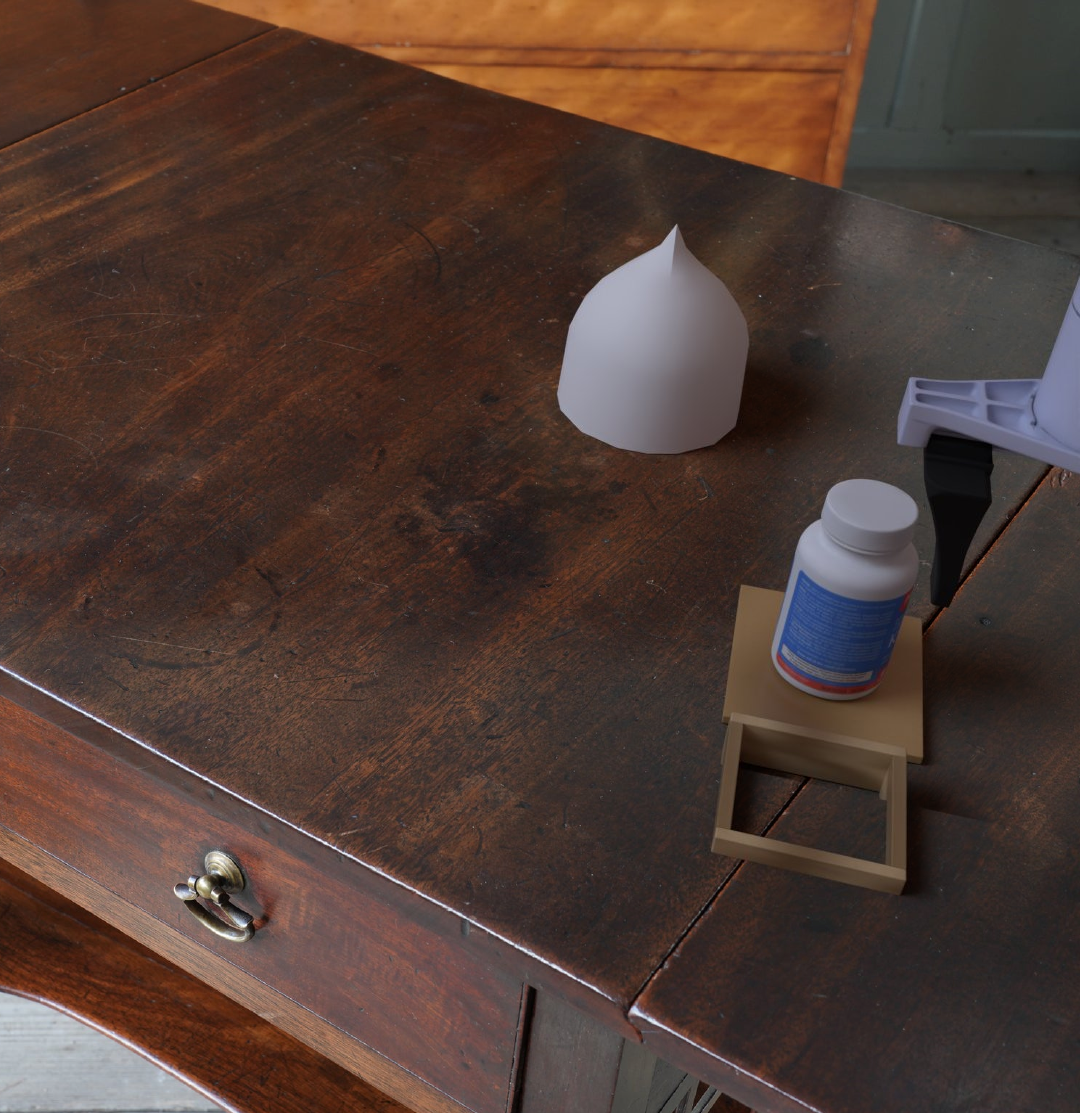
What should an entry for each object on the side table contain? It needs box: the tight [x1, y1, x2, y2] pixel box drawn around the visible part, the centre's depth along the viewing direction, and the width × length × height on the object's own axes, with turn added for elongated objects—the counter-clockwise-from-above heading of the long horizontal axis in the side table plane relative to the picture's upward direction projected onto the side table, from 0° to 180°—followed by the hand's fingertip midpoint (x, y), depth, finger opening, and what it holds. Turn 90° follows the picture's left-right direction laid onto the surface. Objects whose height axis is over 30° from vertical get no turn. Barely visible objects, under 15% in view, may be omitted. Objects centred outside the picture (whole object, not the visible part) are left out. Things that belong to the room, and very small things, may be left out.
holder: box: [710, 712, 908, 896], centre depth 63 cm, size 8×8×2 cm
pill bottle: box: [771, 478, 920, 700], centre depth 68 cm, size 6×5×10 cm
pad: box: [721, 583, 924, 765], centre depth 71 cm, size 9×10×1 cm
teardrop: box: [556, 223, 750, 455], centre depth 86 cm, size 11×11×12 cm
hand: (1038, 609), depth 60 cm, fingers open, 7 cm apart
